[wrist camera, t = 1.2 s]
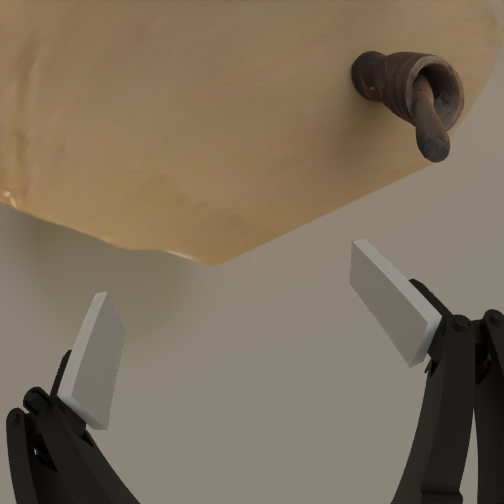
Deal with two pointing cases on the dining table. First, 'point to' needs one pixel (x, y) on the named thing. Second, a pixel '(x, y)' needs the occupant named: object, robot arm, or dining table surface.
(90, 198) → the dining table surface
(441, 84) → the mortar and pestle
